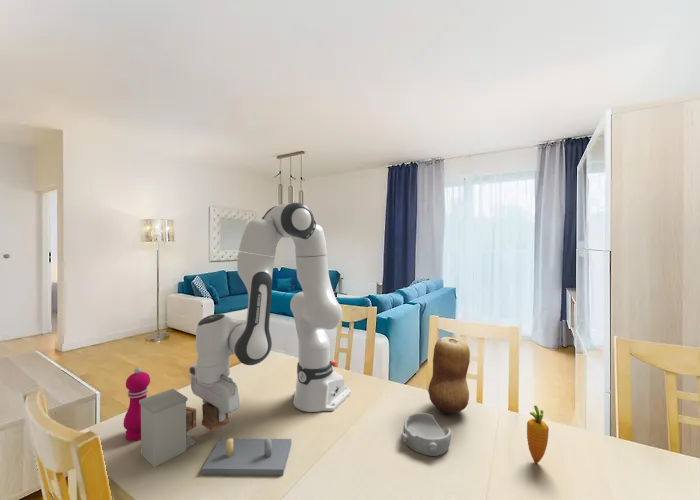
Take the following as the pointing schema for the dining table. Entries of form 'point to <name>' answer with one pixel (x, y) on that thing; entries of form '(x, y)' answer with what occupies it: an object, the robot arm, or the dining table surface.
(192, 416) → the sleeve
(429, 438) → the dish
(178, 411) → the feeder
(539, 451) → the carrot
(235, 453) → the pin board
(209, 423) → the sleeve
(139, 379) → the pepper mill
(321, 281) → the robot arm
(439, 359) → the butternut squash
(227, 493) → the dining table surface
